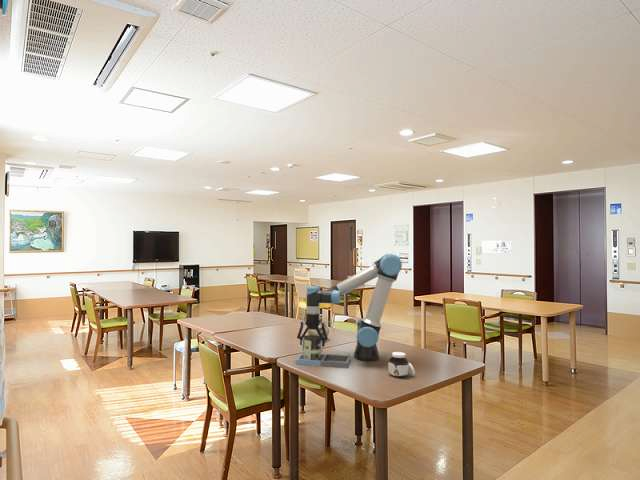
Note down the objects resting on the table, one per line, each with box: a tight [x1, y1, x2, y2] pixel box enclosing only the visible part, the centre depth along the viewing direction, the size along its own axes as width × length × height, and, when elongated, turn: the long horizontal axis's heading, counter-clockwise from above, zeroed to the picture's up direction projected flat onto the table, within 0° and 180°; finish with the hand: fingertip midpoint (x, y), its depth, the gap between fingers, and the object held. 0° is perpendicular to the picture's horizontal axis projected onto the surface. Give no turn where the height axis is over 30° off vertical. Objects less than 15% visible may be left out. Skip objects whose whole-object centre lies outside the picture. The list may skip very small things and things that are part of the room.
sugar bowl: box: [307, 318, 330, 340], centre depth 293 cm, size 20×15×15 cm
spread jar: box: [387, 351, 416, 379], centre depth 216 cm, size 12×11×12 cm
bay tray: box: [295, 352, 352, 369], centre depth 238 cm, size 29×15×3 cm, turn 79°
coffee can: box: [302, 334, 322, 361], centre depth 240 cm, size 10×10×14 cm
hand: (312, 351), depth 240 cm, fingers open, 10 cm apart
